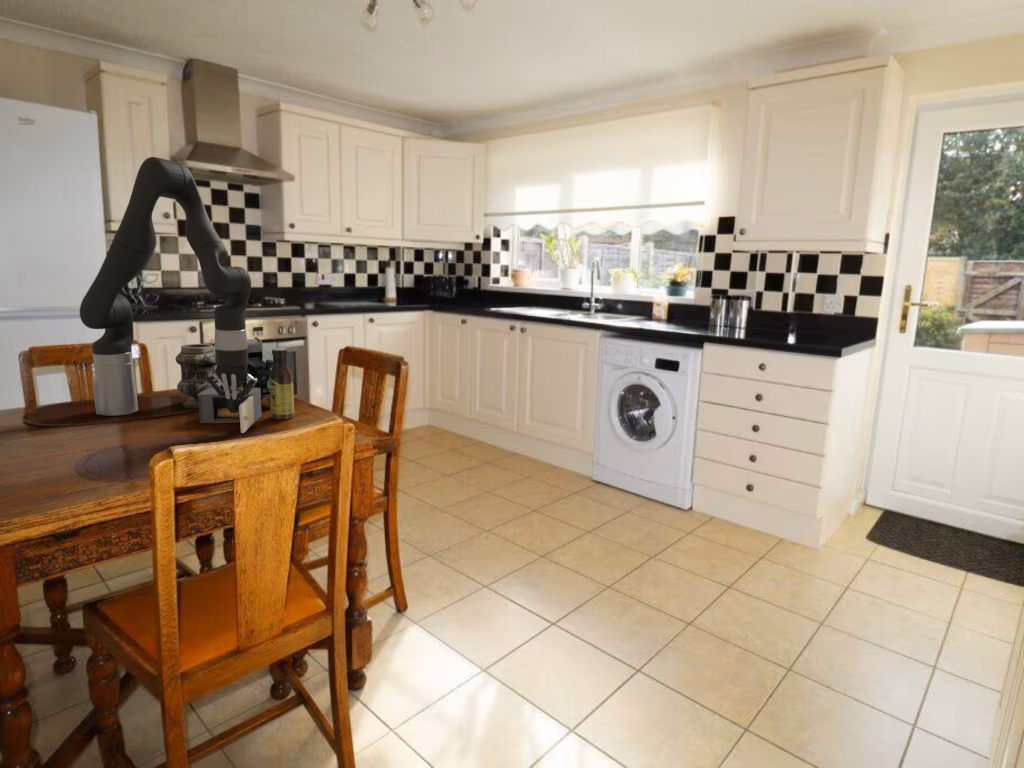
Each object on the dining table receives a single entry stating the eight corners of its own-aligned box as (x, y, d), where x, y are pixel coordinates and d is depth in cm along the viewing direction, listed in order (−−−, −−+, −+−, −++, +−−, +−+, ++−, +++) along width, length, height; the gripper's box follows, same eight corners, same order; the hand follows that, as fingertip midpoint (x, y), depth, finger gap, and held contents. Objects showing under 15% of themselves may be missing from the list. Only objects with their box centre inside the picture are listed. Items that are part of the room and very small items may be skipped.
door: (248, 432, 156) (246, 405, 155) (240, 433, 156) (238, 405, 155) (259, 421, 167) (257, 395, 165) (251, 421, 166) (250, 395, 165)
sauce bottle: (270, 415, 174) (266, 347, 170) (293, 413, 177) (290, 346, 172) (271, 421, 168) (267, 350, 164) (295, 419, 171) (292, 349, 166)
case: (200, 423, 165) (197, 394, 163) (210, 415, 173) (208, 387, 171) (254, 422, 167) (252, 394, 165) (261, 414, 175) (260, 387, 173)
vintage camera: (257, 413, 177) (255, 346, 173) (229, 402, 186) (227, 338, 182) (286, 408, 185) (285, 343, 180) (258, 398, 194) (257, 336, 189)
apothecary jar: (230, 399, 191) (225, 342, 187) (212, 409, 179) (208, 348, 175) (190, 398, 190) (185, 341, 186) (170, 408, 178) (165, 347, 174)
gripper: (263, 345, 158) (265, 410, 161) (213, 342, 158) (216, 406, 162) (250, 350, 150) (252, 418, 154) (197, 347, 151) (201, 414, 155)
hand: (234, 412), depth 158 cm, fingers closed
